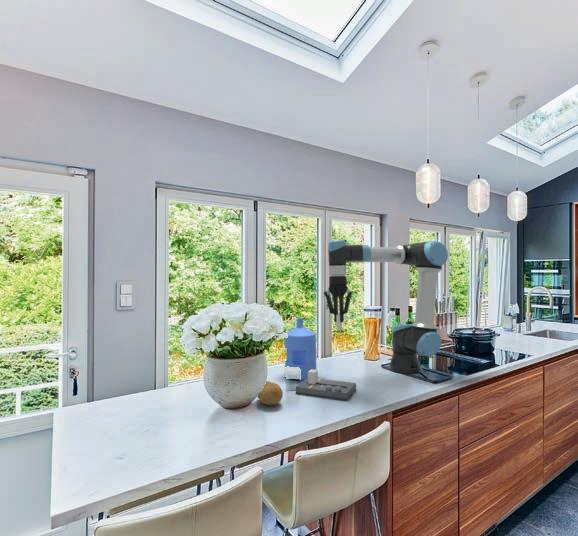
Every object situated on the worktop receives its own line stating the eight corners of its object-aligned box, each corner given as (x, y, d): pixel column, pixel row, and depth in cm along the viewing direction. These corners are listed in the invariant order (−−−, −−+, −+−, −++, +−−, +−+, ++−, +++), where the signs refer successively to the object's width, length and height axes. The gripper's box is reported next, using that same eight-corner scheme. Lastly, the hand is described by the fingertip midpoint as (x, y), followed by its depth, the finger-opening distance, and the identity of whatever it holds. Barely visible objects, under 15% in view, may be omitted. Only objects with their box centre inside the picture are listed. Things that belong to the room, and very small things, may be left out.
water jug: (300, 369, 187) (299, 316, 187) (323, 375, 176) (322, 318, 176) (278, 376, 176) (277, 319, 176) (301, 383, 165) (300, 322, 165)
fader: (318, 386, 156) (317, 369, 156) (314, 389, 153) (314, 372, 153) (311, 385, 158) (311, 369, 158) (308, 388, 154) (307, 371, 154)
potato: (273, 396, 149) (273, 376, 149) (288, 407, 136) (288, 386, 136) (251, 400, 144) (250, 380, 145) (264, 412, 132) (264, 390, 132)
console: (356, 390, 154) (355, 379, 154) (346, 401, 142) (346, 389, 142) (308, 384, 164) (308, 374, 164) (295, 393, 151) (295, 383, 151)
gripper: (354, 275, 158) (356, 328, 158) (326, 275, 163) (327, 327, 163) (350, 275, 151) (351, 331, 151) (320, 276, 157) (322, 330, 157)
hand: (339, 329), depth 157 cm, fingers closed
